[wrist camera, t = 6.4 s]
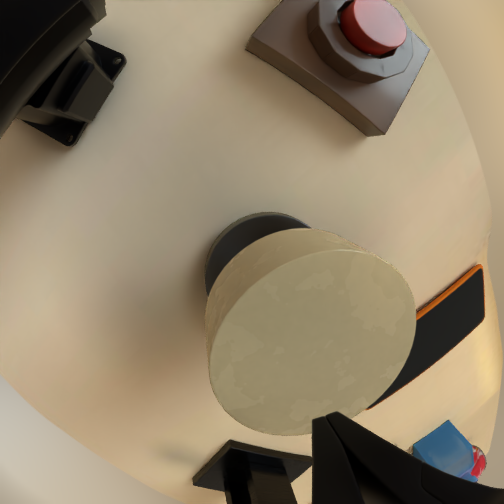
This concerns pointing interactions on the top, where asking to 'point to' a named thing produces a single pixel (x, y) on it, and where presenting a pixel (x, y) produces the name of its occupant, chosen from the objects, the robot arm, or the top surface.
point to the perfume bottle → (447, 451)
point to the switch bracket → (253, 474)
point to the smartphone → (442, 327)
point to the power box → (338, 62)
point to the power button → (373, 26)
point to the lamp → (301, 324)
